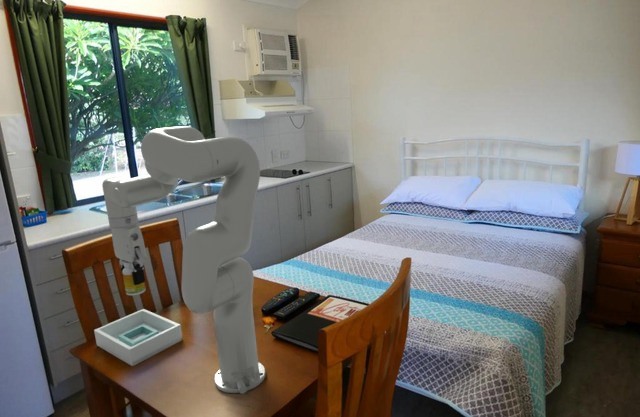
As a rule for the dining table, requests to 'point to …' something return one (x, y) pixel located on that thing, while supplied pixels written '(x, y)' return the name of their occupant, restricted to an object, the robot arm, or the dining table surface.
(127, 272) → the supplement bottle
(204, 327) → the dining table surface
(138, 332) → the storage box
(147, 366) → the dining table surface
